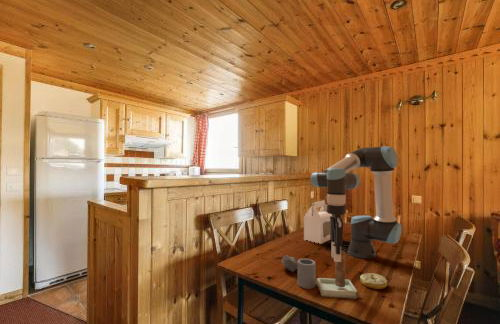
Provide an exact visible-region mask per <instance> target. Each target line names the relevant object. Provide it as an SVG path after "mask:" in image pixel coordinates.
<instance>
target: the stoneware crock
mask: <svg viewBox="0 0 500 324" xmlns="http://www.w3.org/2000/svg"><path fill="white" fill-rule="evenodd" d="M296 262H297V269H296V270H297V271H296V272H297V276H296V277H297V280H296V282H297V285H298V286H299V287H300V288H302V289H314V288H315V287H316V261H315V260H313V259H310V258H299V259H298V260H297V261H296Z"/></svg>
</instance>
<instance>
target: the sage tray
mask: <svg viewBox="0 0 500 324" xmlns="http://www.w3.org/2000/svg"><path fill="white" fill-rule="evenodd" d="M316 284H317V286H318V289H319V292H320V295H321V297H327V298H328V297H329V298H344V299H345V298H346V299H358V297H359V294H358V293H359V292H358V291H357V289H356V287H355V286H354V284H353V283H352V282H351V279H345V287H338V286H336V285H335V278H326V277H317V279H316Z"/></svg>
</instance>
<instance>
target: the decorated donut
mask: <svg viewBox="0 0 500 324" xmlns="http://www.w3.org/2000/svg"><path fill="white" fill-rule="evenodd" d="M359 277H360V278H359V279H360V283H361V284H362V285H363V286H365V287H367V288H369V289H370V288H371V289H374V290H375V289H376V290H382V289H385V288H387V286H388V280H387V279H386V277H384V276H383V275H381V274H378V273H372V272H370V273H369V272H367V273H363V274H361V275H360V276H359Z"/></svg>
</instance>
